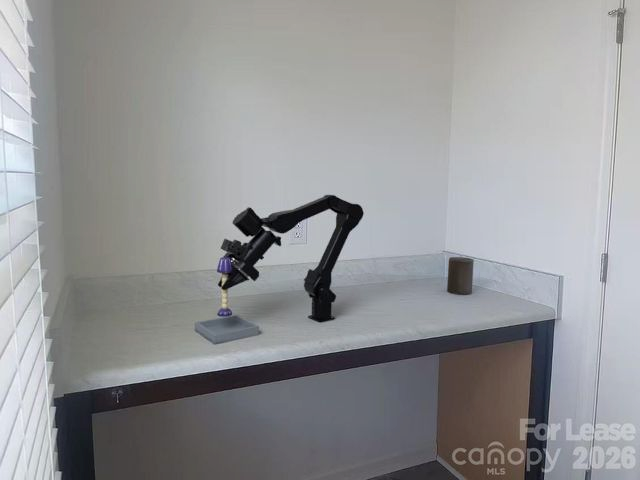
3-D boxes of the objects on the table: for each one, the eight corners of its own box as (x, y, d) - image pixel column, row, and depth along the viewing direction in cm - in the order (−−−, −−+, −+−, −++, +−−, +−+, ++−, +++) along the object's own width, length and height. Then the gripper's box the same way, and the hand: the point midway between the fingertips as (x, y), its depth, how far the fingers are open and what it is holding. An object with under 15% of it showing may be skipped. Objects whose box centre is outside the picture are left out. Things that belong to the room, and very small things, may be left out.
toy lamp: (223, 311, 135) (222, 255, 133) (237, 313, 134) (236, 257, 131) (214, 316, 131) (212, 258, 129) (228, 317, 129) (227, 259, 127)
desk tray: (259, 334, 131) (259, 326, 131) (214, 344, 123) (214, 335, 122) (237, 322, 142) (237, 314, 141) (194, 330, 134) (194, 322, 133)
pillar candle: (450, 294, 181) (452, 257, 179) (444, 288, 191) (446, 253, 189) (475, 295, 181) (477, 257, 179) (468, 289, 190) (470, 253, 188)
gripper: (229, 225, 139) (193, 264, 136) (247, 232, 122) (206, 276, 119) (254, 249, 143) (220, 287, 140) (275, 259, 127) (237, 302, 124)
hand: (220, 287), depth 131 cm, fingers closed on toy lamp, 4 cm apart
